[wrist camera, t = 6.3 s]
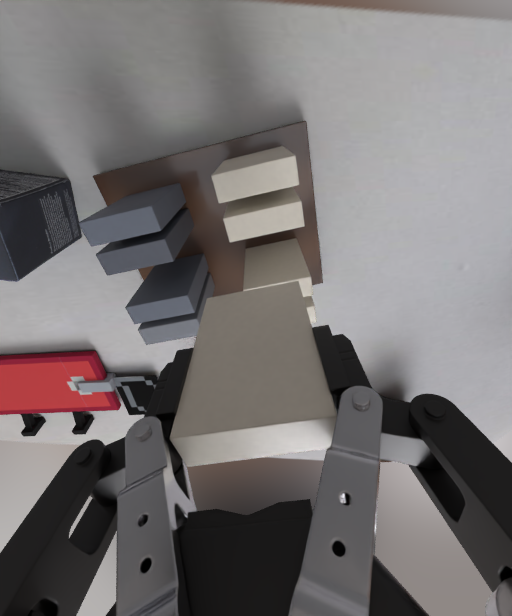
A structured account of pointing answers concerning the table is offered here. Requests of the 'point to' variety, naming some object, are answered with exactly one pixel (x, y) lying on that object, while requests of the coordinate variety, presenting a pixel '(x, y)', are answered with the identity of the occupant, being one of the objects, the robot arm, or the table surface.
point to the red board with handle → (67, 388)
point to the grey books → (154, 260)
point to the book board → (209, 212)
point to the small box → (34, 221)
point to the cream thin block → (254, 381)
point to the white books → (265, 217)
